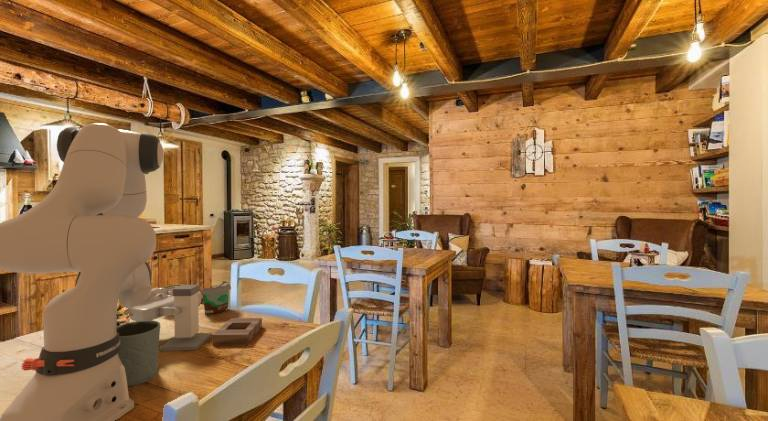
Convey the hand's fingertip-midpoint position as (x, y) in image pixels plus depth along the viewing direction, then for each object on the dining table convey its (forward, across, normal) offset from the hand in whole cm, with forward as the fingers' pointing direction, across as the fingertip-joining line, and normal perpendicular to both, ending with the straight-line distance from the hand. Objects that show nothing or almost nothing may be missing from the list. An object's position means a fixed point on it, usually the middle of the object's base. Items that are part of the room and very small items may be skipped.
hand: (189, 307), depth 104 cm
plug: (-1, 0, +8) cm, 8 cm away
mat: (-1, 0, +11) cm, 11 cm away
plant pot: (-30, +22, +11) cm, 39 cm away
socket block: (+10, +9, +10) cm, 17 cm away
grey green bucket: (+4, -20, +11) cm, 23 cm away
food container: (-13, +26, +11) cm, 31 cm away
